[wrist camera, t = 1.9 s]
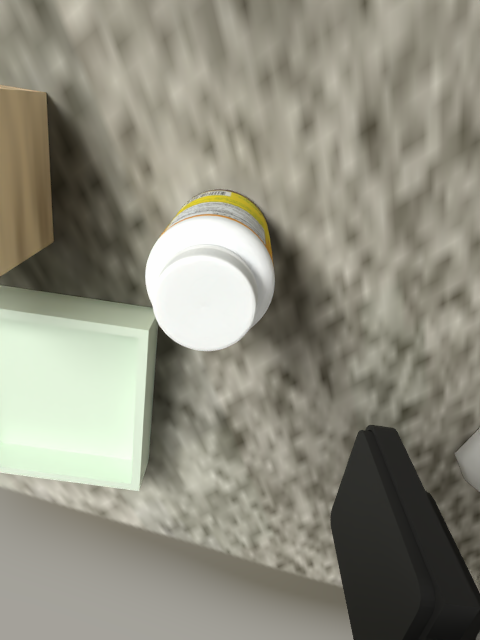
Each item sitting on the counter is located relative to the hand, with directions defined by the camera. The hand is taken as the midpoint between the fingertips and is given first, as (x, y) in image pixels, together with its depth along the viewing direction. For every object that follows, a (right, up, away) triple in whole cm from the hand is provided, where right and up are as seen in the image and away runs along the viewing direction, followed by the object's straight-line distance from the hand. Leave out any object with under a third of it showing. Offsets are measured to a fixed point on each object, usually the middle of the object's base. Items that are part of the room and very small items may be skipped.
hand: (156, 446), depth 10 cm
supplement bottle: (+1, +8, +15) cm, 17 cm away
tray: (-11, -1, +20) cm, 23 cm away
